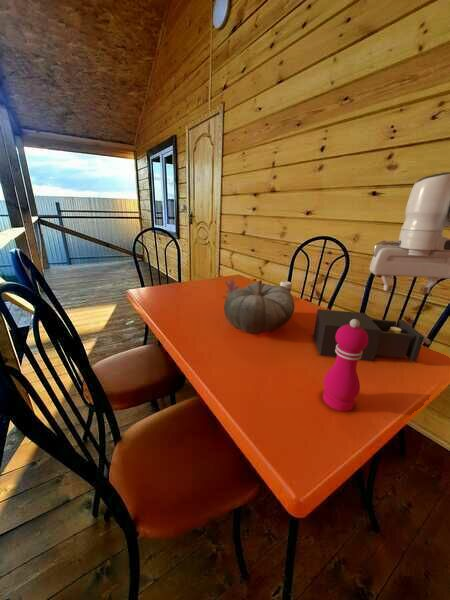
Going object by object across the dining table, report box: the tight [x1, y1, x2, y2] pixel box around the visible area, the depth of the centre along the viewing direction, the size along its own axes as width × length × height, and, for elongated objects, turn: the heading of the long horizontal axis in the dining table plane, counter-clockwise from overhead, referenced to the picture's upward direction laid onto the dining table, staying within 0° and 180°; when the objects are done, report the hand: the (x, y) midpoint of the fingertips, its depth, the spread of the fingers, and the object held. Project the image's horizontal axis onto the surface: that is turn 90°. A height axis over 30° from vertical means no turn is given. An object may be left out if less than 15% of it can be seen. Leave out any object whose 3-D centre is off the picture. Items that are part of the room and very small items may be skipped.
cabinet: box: [313, 308, 382, 362], centre depth 78 cm, size 15×13×10 cm
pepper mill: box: [322, 319, 368, 412], centre depth 53 cm, size 7×7×20 cm
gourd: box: [223, 280, 296, 336], centre depth 90 cm, size 25×25×17 cm
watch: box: [388, 326, 401, 333], centre depth 76 cm, size 6×3×6 cm, turn 170°
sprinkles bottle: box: [279, 280, 293, 294], centre depth 103 cm, size 5×5×14 cm
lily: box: [223, 275, 240, 298], centre depth 120 cm, size 12×12×10 cm
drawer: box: [370, 318, 432, 363], centre depth 76 cm, size 18×12×8 cm, turn 80°
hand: (405, 291), depth 71 cm, fingers open, 8 cm apart
